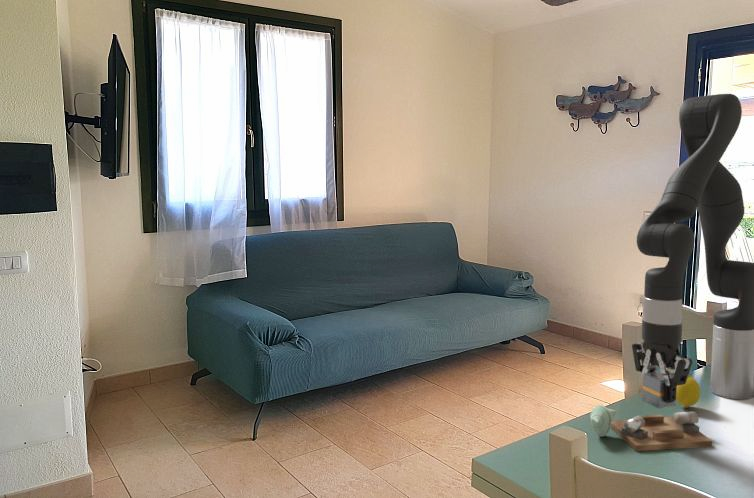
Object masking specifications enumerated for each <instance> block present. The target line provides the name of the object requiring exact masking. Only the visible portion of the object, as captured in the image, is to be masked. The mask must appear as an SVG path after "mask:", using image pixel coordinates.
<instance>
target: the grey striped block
mask: <svg viewBox="0 0 754 498" xmlns="http://www.w3.org/2000/svg"><path fill="white" fill-rule="evenodd" d="M642 378H643V379H642V387H641V388H642V397H641V399H642V402H644V403H647V404H648V405H651V406H652V407H654V408H656V409H663V408H664V409H665V408H668V407H672V406H676V404H677V400H674V402H672V403H666V402H664V385H665V381H664V376H663V375H662V374H661V371H660V370H656V372H650V373H645V374H643V375H642ZM670 379H671V374H670ZM676 393H677V389H676Z"/></svg>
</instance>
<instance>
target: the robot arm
mask: <svg viewBox="0 0 754 498" xmlns="http://www.w3.org/2000/svg"><path fill="white" fill-rule="evenodd" d="M742 114H743V110H742V103H741V101H740V99H739V98H738V96H737V95H735V94H734V93H720V94H719V93H718V94H712V95H711V94H710V95H709V94H708V95H702V96H693V97H689V98H686V99H685V100H684V101H682V103H681V105H680V108H679V114H678V120H679V128H680V132H681V136H682V139H683V144H684V148H685V150H686V151H685V152H686V154H687V159H686V160H684V162H682V163H681V164H680V165H679V166H678V167H677V168H676V169H675V171H674V172H673V173H672V174H671V175H670V177H669V178H668V180H667V183H666V185H665V188H664V191H663V193H662V196H661V199H660V201H659V202H658V204H657V205H656V206H655V207H654V209H653V210H652V211H651V212H650V214H649V215H648V216H647V218H646V219H645V220H644V221H643V223H642V224H641V225H640V226H639V227H640V228H639V230H638V232H637V235H636V245H637V249H638V251H639V252H640V253H642V254H643V255H645V256H649V257H658V258H666V259H667V258H668V262H667V263H666V265H665V266H664V267H653V268H650V269H648V270H647V271H646V272H645V276H644V291H643V292H644V296H643V303H642V310H641V311H642V316H641V338H642V339H641V340H643V341H642V342H636V343H632V344H631V349H632V355H633V361H634V366H635V370H636V372H640V373H641V375H642V376H643V374H645V373H650V372H656V371H657V369H658V368H659V371H661V374H662V375H663V376H664V381H665V385H664V402H666V403H672V402H674V400H676V388H677V386H678V385H683V384H686V381H687V378H688V375H689V376H690V372H691V368H692V365H693V360H692V358H690V357H689V358H688V357H687V358H686V357H684V356H683V355H681V351H680V348H679V346H680V344H681V343H682V339H683V337H682V336H683V335H682V334H683V320H684V319H683V315H684V313H683V312H684V309H683V285H684V284H683V283H684V276H685V273H686V270H687V267H688V263H689V261H690V258H691V255H692V252H693V250H694V247H695V240H696V239H695V233H694V232H693V229H692V228H691V227H690V226H688V225H687V224H685V223H684V224H683V223H682V222H685V221H688V220H691V219H692V218H693V217H694V216H695V214H696V212H698V215H699V216H698V217H699V220H700V227H701V231H702V237H703V243H704V252H705V253H704V254H705V267H706V270H705V271H706V280H707V286H708V288H709V291H710V293H711V294H713V295H714V296H716V297H721V298H727V299H733V300H738V305H737V306H736V307H734V308H729V309H722V310H718V311H716V312H715V313H714V314H713V322H712V323H713V325H712V346H711V368H710V369H711V371H710V391H711V392H712V393H713V394H715V395H717V396H719V397H723V398H727V399H732V400H733V399H735V400H748V399H751V398H753V397H754V262H750V261H740V260H732V259H731V260H729V259H728V257H727V254H726V253H727V252H726V249H727V244H728V242H729V241H730V239H731V237H732V236H733V235H734V232H735V231H736V230H737V229H738V227H739V226H740V224H741V222H742V220H743V219H744V215H745V205H744V197H743V191H742V187H741V184H740V183H739V181H738V179H737V178H736V177H735V176H734V175H733V174H732V173H731V172H730V171H729V170H728V169H727V168H726V167H725V166H724V165H723V163H721V159H722V157H723V156H724V153H726V151H727V149H728V148H729V145H730V144H731V142H732V140H733V138H734V137H735V135H736V133H737V131H738V129H739V128H740V124H741V122H742V121H741V120H742ZM680 222H681V223H680ZM735 233H736V232H735ZM670 375H671V379H670ZM676 401H677V400H676Z"/></svg>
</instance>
